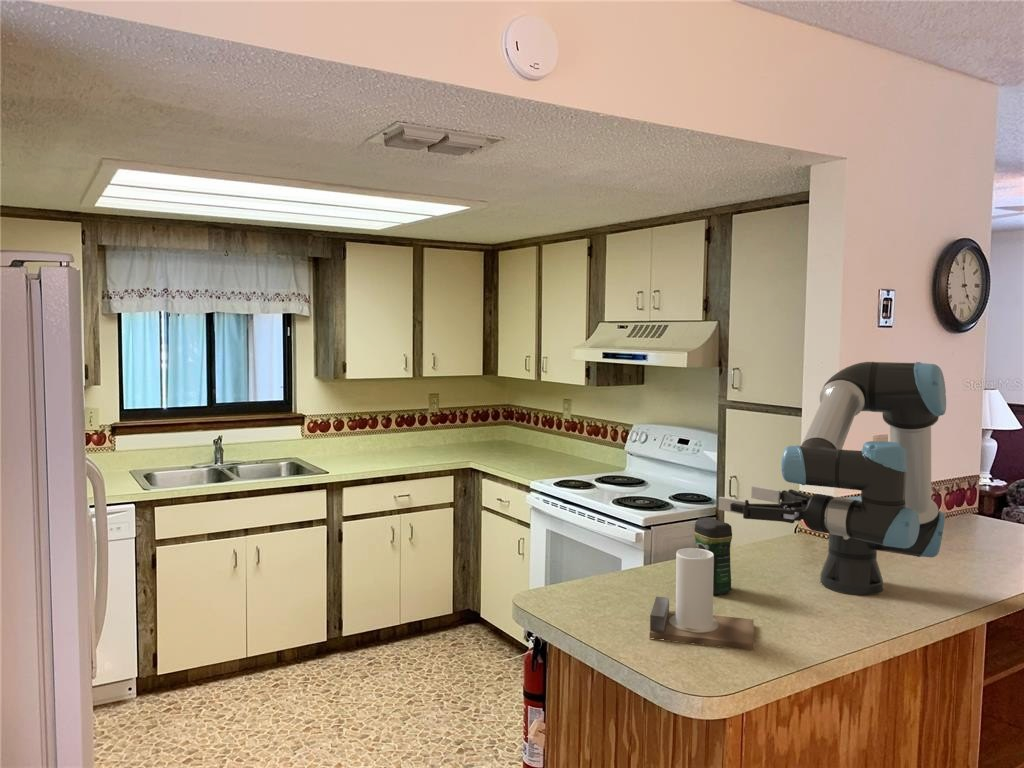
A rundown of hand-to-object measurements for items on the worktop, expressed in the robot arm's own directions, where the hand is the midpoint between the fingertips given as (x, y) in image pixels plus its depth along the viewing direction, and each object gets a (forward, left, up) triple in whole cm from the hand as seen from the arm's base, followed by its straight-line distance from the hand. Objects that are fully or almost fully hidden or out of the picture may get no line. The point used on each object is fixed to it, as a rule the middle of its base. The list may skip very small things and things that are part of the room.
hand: (736, 497), depth 169 cm
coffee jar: (+6, -29, -32) cm, 43 cm away
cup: (+9, -1, -30) cm, 31 cm away
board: (+7, 0, -31) cm, 32 cm away
